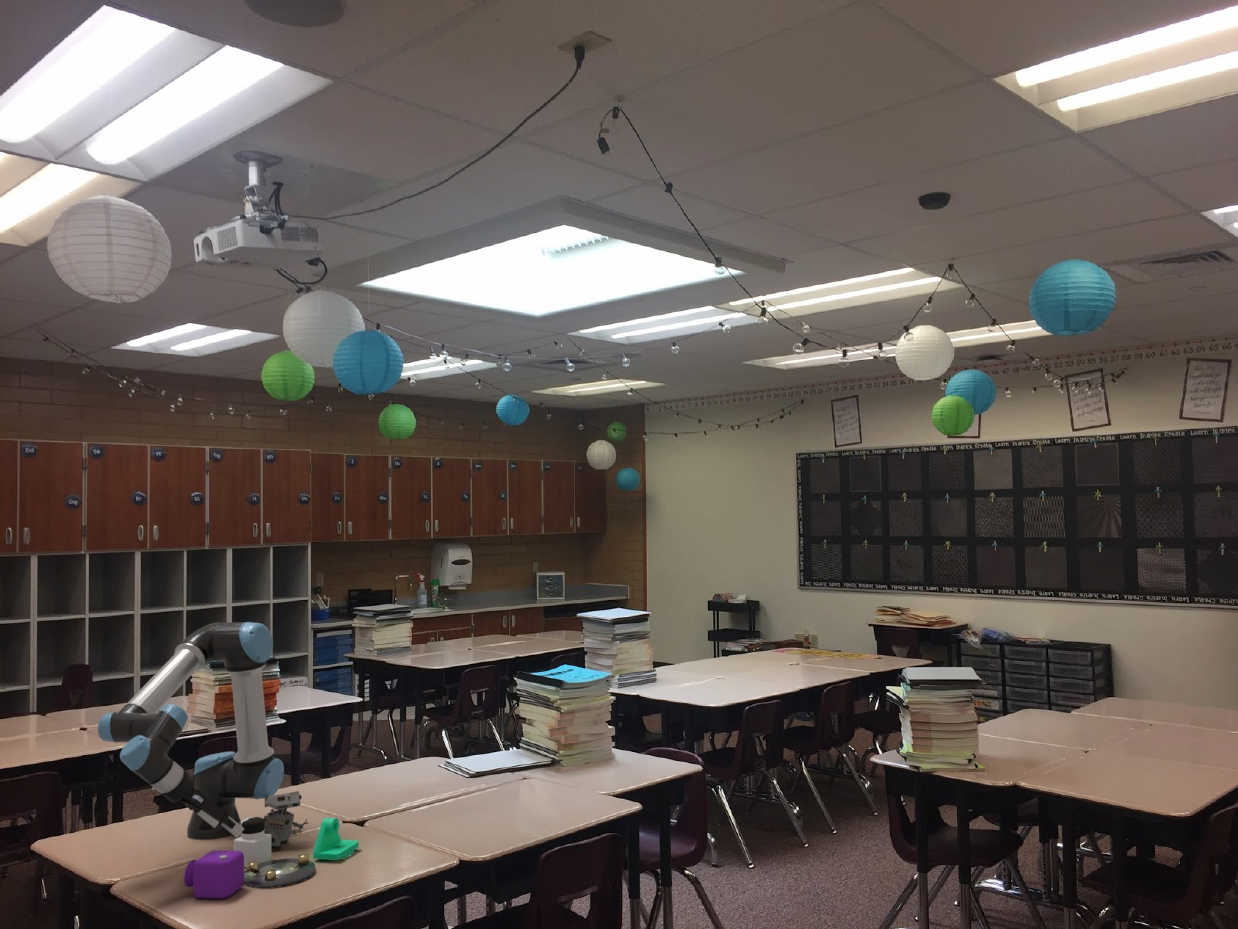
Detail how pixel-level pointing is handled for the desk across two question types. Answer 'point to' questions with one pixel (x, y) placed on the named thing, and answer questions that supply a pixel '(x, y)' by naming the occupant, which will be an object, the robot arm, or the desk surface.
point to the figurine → (281, 818)
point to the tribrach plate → (278, 872)
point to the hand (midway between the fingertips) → (228, 828)
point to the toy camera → (216, 874)
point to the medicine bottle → (254, 841)
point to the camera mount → (332, 842)
